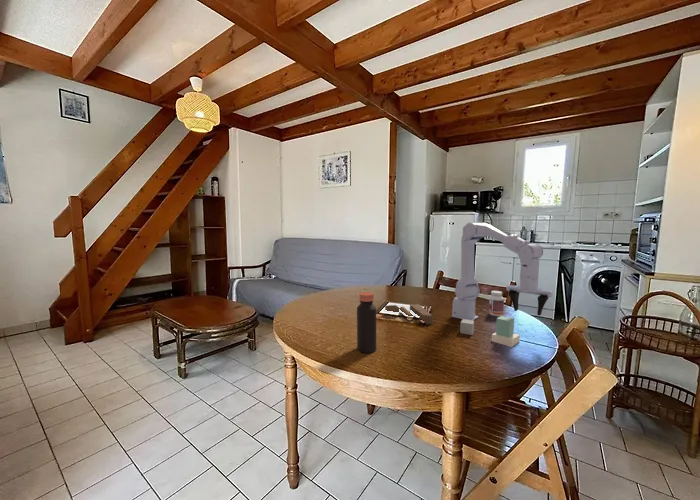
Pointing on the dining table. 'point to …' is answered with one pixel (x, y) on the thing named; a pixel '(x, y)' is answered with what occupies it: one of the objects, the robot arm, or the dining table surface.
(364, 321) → the vinegar
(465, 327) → the grey block
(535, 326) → the dining table surface
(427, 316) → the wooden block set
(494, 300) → the pill bottle
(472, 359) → the dining table surface
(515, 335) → the cream slab
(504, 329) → the teal block
